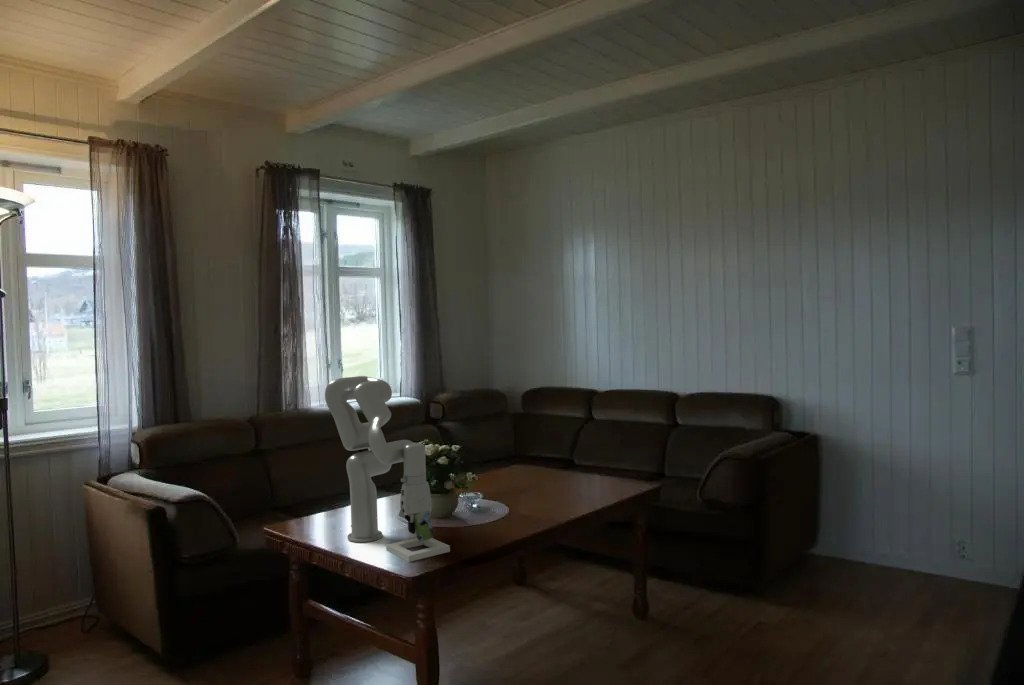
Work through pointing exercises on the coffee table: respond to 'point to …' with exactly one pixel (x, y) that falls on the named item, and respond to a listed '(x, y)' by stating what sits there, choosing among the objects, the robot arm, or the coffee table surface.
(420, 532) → the beverage can
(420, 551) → the can holder
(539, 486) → the coffee table surface
